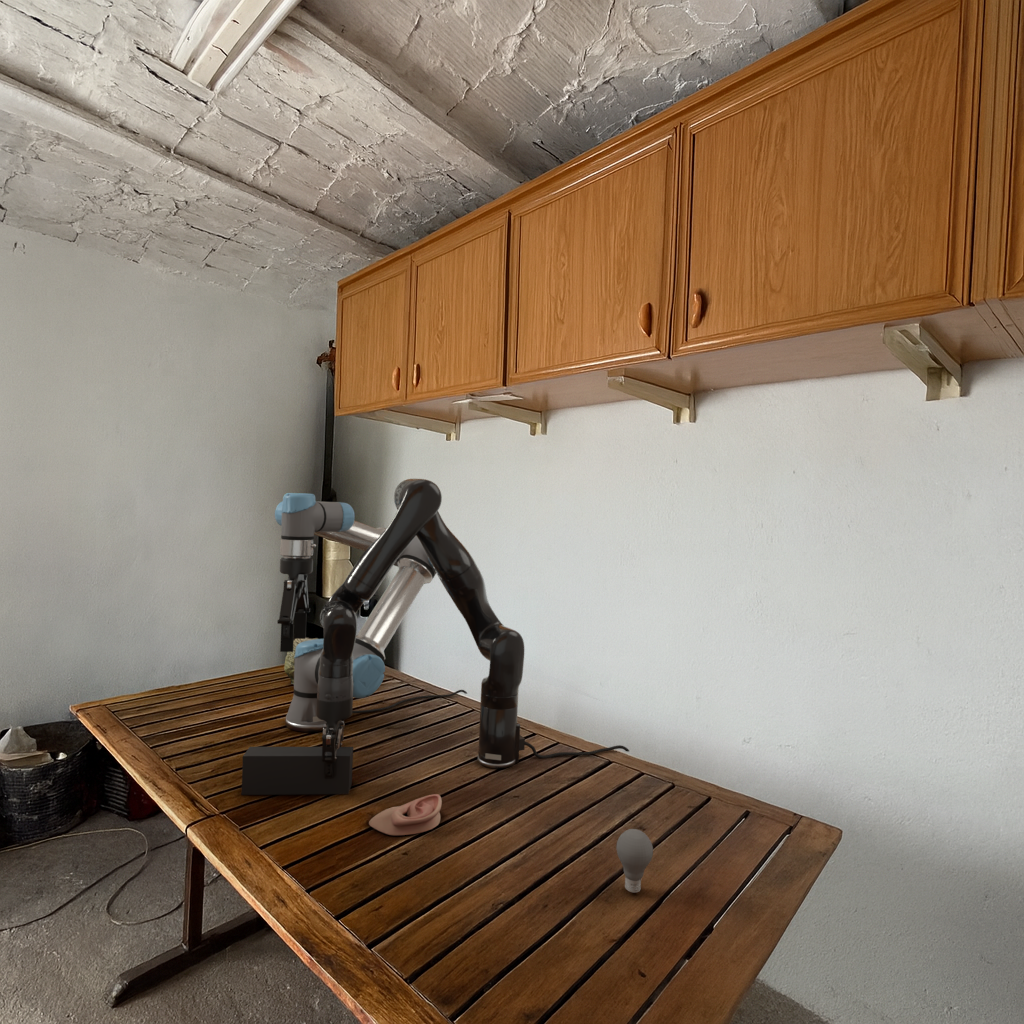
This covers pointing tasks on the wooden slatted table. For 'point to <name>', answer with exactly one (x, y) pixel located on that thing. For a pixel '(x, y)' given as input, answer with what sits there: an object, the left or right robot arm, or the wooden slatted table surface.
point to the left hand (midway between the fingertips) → (293, 644)
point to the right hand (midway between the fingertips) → (332, 771)
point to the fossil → (292, 659)
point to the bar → (294, 771)
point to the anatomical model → (409, 817)
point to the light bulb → (634, 857)
